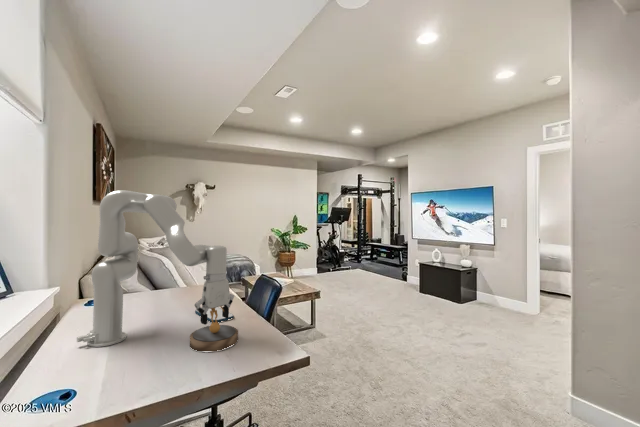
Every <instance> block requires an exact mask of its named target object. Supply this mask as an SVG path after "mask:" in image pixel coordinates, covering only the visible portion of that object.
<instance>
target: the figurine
mask: <svg viewBox="0 0 640 427" xmlns="http://www.w3.org/2000/svg"><path fill="white" fill-rule="evenodd" d="M219 308H221V309H223V306H220V307H219ZM223 311H224V309H223ZM214 312H215V315H216V317H215V322H213V315H214ZM210 313H211V319H212V323H210V325H209V326H210V328H209V329H210V331H211V332H212V333H217V332H218V331H219V330H220V325H221V324H220V323H218V322H217V320H216V318H217V316H218V314H217V310H215V308H212V311H210Z"/></svg>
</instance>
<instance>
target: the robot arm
mask: <svg viewBox="0 0 640 427" xmlns="http://www.w3.org/2000/svg"><path fill="white" fill-rule="evenodd" d="M176 210H177V203H176V201H175V199H174V198H173V197H171V196H169V195H164V194H152V193H146V192H145V193H144V192H137V191H133V190H127V189H126V190H125V189H123V190H122V189H121V190H119V189H118V190H113V191H111V192H109V193H107V194H106V195H104V197H103V198H102V199H101V201H100V204H99V227H98V240H97V241H98V242H97V244H98V245H97V249H98V250H97V251H98V253H99V254H100V255H101V256H103V257H105V258H112V257H114V258H113V259H108V260H104V261H101V262H99V263H97V264H96V265H95V266H94V267H93V269H92V271H91V275H90V276H91V277H90V278H91V282H92V286H93V288H92V289H93V308H92V309H93V310H92V311H93V313H92V314H93V317H92V330H89V333H87V334H86V335H80V336H78V337H76V342H77V343H80V342H83V343H87V346H88V347H93V348H96V347H97V348H99V347H101V348H102V347H107V346H112V345H116V344H118V343H121V342H123V341H124V340H126V339H127V335H128V334H127V333H126V332H124V331H123V318H124V317H123V313H124V311H123V310H124V290H123V287H122V284H121V282H123V281H125V280H128V279H131V278H133V277H134V275H135V274H136V273H137V268H138V257H139V241H138V239H137V237H136V235H135V234H133V233H132V232H127V231H126V225H127V224H126V218H125V216H124V213H139V214H148V215H149V216H150V217H151V219H152V220H153V221H154V222H155V224H156V225H157V226H158V227H159V229H160V230H161V231H162V232H163V233H164V235H165V239H166V242H167V245H168V247H169V249H170V251H171V252H172V253H173V255H174V256H175V257H176V258H177V259H178V260H179V261H180V262H181V263H182V264H183V265H185V266H187V267H195V266H197V265H200V264H205V263H206V264H205V265H206V269H205V270H206V271H205V272H206V273H205V275H204V276H203V280H204V282H203V287H202V294H201V298H200V299H199V300H197V301H196V302H195V303H194V307H195V310H196V309H197V311H198V312H199V313H201V317H200V324H202V325H205V326H206V325H208V321H207V314H206V313H207V311H208V309H212V308H216V307H219V308H221V307H220V306H222V308H223V309H224V311H223V310H222V316H223V317H225V318H228V315H229V313H230V312H229V311H230V308H231V305H232V304H233V300H234V298H235V294H233V293H230V285H229V280H228V279H227V256H228V255H227V253H228V251H227V247H226V246H224V245H212V246H211V245H206V244H196V245H193V243H192V242H191V241H190V240H189V239H188V237H187V236H186V234H185V231H184V227H185V220H184V219H183V218H182V217H181V215H180V214H179V213H178V212H177V211H176ZM201 305H202V306H201Z"/></svg>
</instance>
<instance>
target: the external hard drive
mask: <svg viewBox="0 0 640 427" xmlns="http://www.w3.org/2000/svg"><path fill="white" fill-rule="evenodd" d="M215 310H217V314H218V316H217V318H216V320H217V322H221V321H225V320H228V319H231V318H233V319H234V314H233V313H231V312H229V315H228V318H225V317H223V316H222V310H223V309H222V308H221V307H216V308H215ZM210 311H212V309H208V311H207V313H206V314H207V320H208V321H207V322H209V321H210V322H209V323H211V322H212V319H211V313H210ZM194 312H195V314H196V315H198V316H199V317H200V316H201V313H199V312H198V311H197V309H196V308H195V311H194ZM215 317H216V315H215V312H214V315H213V322H215ZM225 322H226V321H225ZM221 323H222V322H221Z"/></svg>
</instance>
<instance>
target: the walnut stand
mask: <svg viewBox="0 0 640 427" xmlns="http://www.w3.org/2000/svg"><path fill="white" fill-rule="evenodd" d="M219 325H220V330H219V331H218V332H217V333H212V332H211V331H210V329H209V328H210V325H207V326H206V325H205V326H203V327H200V328H198V329H196V330H194V331H193V332H191V334H190V335H189V348H190V347H191V348H192V349H194V350H197V351H217V350H222V349H224V348H227V347H229V346H231V345H233V344H235V343H236V342H237V340H238V341H239V329H238V328H237V327H234V326H233V325H232V326H231V325H228V324H219ZM237 343H238V342H237ZM235 345H236V344H235ZM191 348H190V349H191ZM192 349H191V350H192ZM194 350H193V351H194ZM197 351H196V352H197ZM222 351H223V350H222Z"/></svg>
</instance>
